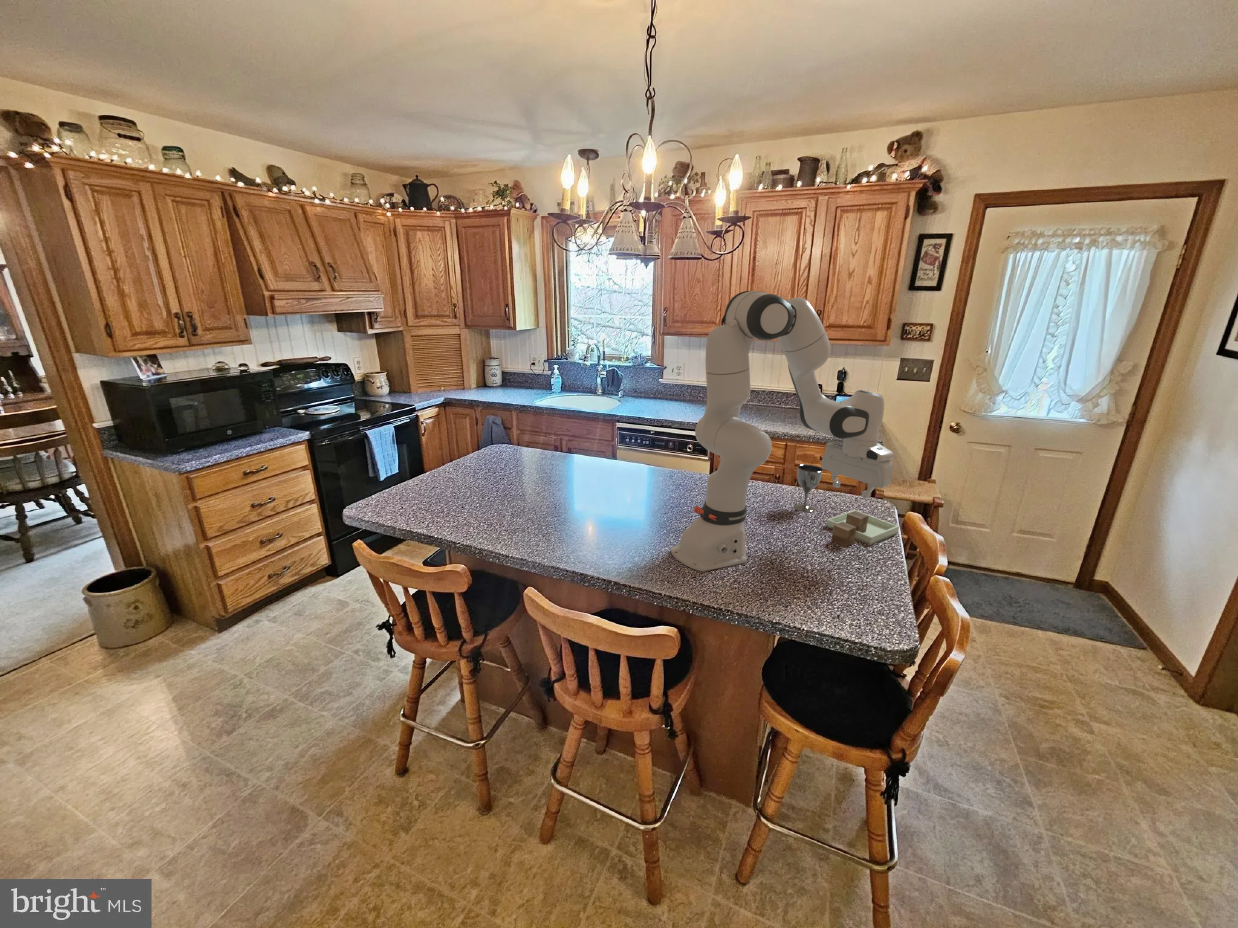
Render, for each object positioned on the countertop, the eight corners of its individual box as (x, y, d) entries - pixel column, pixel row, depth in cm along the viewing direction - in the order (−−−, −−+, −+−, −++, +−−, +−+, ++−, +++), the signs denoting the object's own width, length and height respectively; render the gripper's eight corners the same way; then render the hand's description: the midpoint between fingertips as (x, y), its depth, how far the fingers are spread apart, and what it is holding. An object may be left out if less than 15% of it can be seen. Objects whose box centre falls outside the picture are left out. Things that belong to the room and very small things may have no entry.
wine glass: (818, 513, 171) (824, 472, 167) (794, 511, 173) (799, 470, 168) (814, 504, 179) (820, 465, 174) (791, 502, 180) (796, 463, 175)
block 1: (844, 547, 148) (847, 530, 147) (831, 541, 152) (834, 524, 150) (853, 543, 151) (856, 527, 149) (840, 537, 154) (842, 521, 152)
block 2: (857, 535, 155) (860, 518, 153) (844, 529, 158) (847, 513, 156) (865, 531, 157) (868, 515, 155) (852, 526, 161) (855, 510, 159)
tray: (869, 545, 150) (871, 537, 149) (825, 526, 162) (827, 519, 161) (897, 533, 157) (899, 526, 157) (853, 516, 170) (854, 509, 169)
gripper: (821, 439, 149) (813, 482, 154) (887, 457, 133) (877, 505, 137) (833, 437, 153) (825, 479, 157) (899, 455, 137) (889, 501, 141)
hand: (850, 492), depth 147 cm, fingers open, 8 cm apart
